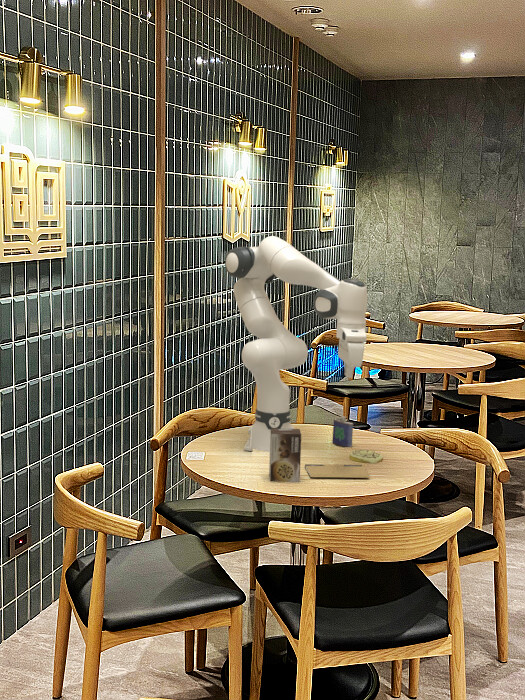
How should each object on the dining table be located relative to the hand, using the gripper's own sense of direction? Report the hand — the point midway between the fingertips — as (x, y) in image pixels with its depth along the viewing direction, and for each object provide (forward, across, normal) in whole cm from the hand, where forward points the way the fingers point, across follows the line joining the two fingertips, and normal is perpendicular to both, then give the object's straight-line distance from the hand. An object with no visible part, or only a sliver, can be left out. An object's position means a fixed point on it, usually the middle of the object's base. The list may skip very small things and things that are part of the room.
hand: (348, 377), depth 257 cm
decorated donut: (+31, -13, +10) cm, 35 cm away
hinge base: (+31, +4, -3) cm, 31 cm away
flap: (+31, +4, -3) cm, 31 cm away
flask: (+31, -35, +6) cm, 47 cm away
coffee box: (+31, +10, -20) cm, 38 cm away
